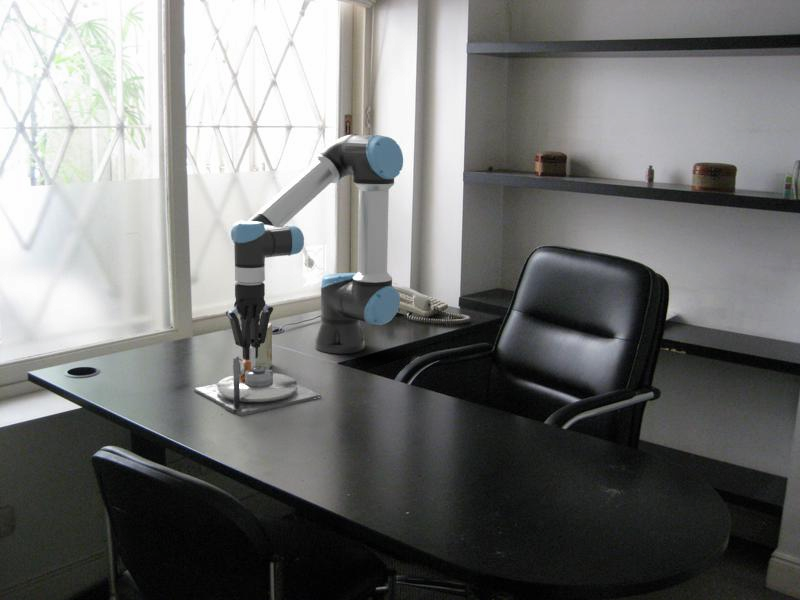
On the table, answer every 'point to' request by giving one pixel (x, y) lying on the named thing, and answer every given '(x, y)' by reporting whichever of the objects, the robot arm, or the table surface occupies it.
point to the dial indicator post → (236, 385)
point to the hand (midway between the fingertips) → (250, 370)
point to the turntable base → (255, 407)
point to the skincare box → (265, 350)
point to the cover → (258, 377)
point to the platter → (278, 390)
